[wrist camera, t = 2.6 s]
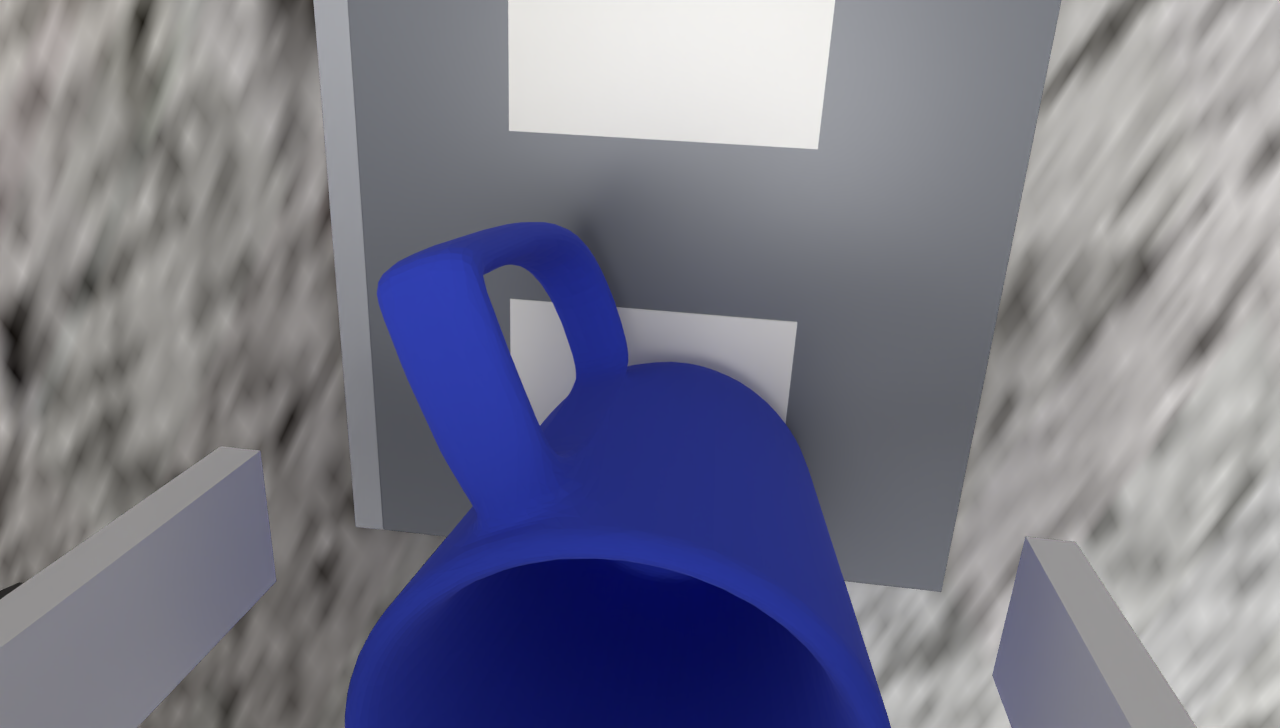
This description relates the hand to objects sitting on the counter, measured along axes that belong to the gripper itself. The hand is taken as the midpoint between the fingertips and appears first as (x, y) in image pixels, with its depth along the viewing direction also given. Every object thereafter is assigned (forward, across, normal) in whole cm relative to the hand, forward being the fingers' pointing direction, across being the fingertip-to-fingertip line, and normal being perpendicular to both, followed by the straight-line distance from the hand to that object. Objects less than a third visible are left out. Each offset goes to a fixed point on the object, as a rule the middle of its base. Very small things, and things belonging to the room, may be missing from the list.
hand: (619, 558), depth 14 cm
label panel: (+7, 0, -4) cm, 8 cm away
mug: (+7, 0, 0) cm, 7 cm away
